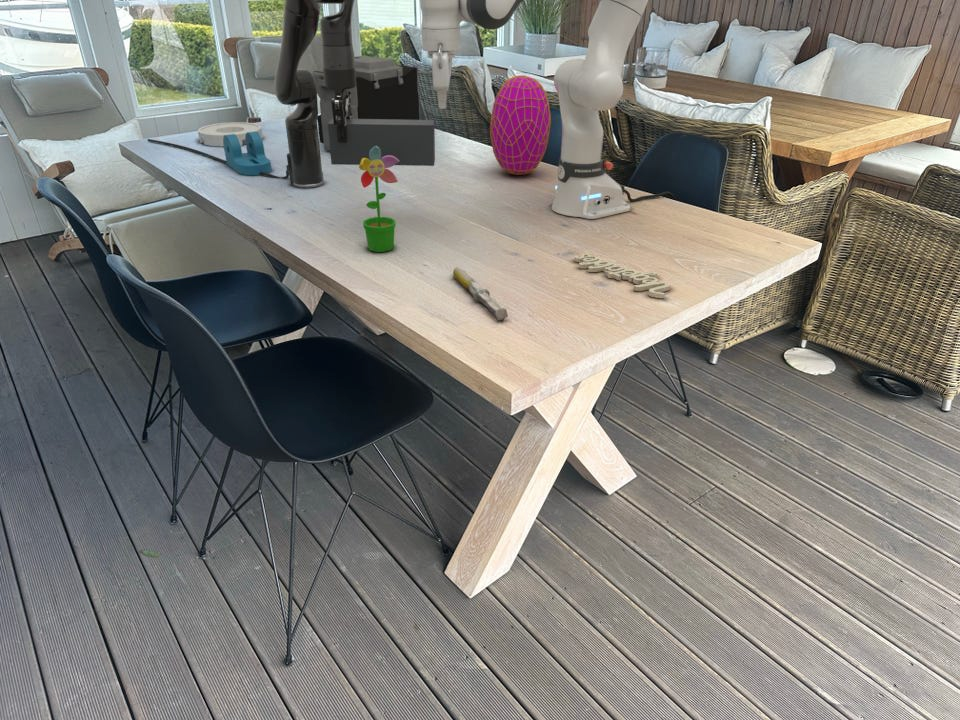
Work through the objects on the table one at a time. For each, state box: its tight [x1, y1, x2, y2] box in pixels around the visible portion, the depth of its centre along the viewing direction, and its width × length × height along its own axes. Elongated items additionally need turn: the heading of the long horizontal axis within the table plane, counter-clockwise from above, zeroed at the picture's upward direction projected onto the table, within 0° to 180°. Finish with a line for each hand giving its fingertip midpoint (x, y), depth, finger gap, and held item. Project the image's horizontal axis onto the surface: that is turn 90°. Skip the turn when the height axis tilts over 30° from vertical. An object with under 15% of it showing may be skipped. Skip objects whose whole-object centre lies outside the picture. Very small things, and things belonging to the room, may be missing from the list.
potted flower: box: [358, 146, 399, 253], centre depth 162 cm, size 9×8×25 cm
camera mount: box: [223, 131, 272, 176], centre depth 226 cm, size 18×10×10 cm, turn 35°
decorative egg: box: [489, 75, 552, 176], centre depth 220 cm, size 19×19×30 cm
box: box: [328, 119, 436, 167], centre depth 170 cm, size 25×6×10 cm, turn 91°
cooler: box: [310, 55, 421, 151], centre depth 250 cm, size 37×22×30 cm, turn 144°
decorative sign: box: [574, 252, 671, 299], centre depth 155 cm, size 26×1×10 cm
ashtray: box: [197, 121, 264, 147], centre depth 263 cm, size 23×23×4 cm
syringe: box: [452, 266, 509, 321], centre depth 145 cm, size 25×4×3 cm, turn 21°
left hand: (344, 139), depth 169 cm, fingers closed on box, 5 cm apart
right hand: (443, 104), depth 166 cm, fingers open, 8 cm apart
